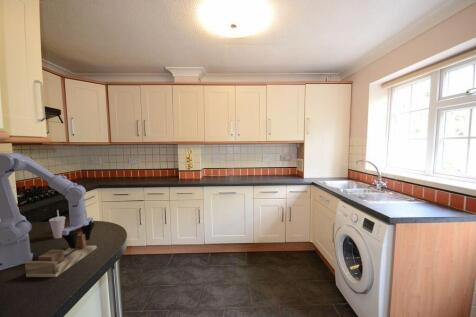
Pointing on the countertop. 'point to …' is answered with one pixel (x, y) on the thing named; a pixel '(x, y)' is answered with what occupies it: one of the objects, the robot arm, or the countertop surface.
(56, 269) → the lane shelf
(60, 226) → the smoothie
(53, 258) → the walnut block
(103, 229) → the countertop surface
